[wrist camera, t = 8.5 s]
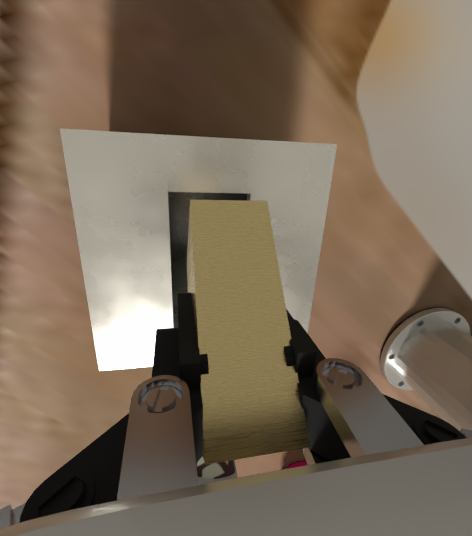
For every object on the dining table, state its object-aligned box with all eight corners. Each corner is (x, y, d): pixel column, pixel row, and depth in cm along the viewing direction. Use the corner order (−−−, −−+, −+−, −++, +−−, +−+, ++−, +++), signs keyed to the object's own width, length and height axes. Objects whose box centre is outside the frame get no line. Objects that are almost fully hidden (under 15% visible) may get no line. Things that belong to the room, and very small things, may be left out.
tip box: (275, 146, 26) (336, 144, 16) (263, 287, 31) (304, 352, 21) (109, 138, 23) (60, 128, 13) (125, 294, 29) (98, 371, 19)
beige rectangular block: (267, 200, 10) (309, 446, 7) (239, 262, 14) (258, 424, 11) (190, 199, 9) (205, 464, 6) (186, 263, 14) (194, 434, 11)
